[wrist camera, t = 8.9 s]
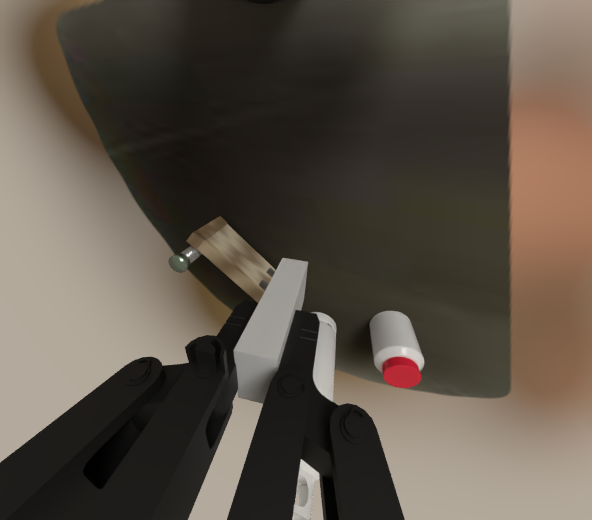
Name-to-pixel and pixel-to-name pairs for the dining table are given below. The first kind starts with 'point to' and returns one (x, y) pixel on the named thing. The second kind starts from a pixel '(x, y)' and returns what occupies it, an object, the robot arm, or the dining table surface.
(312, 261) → the dining table surface
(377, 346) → the pill bottle
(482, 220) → the dining table surface
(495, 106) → the dining table surface
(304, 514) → the bottle
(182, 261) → the latch post
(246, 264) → the gate
